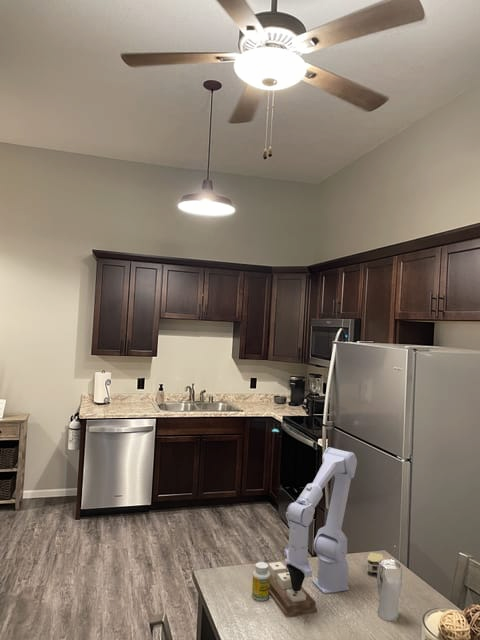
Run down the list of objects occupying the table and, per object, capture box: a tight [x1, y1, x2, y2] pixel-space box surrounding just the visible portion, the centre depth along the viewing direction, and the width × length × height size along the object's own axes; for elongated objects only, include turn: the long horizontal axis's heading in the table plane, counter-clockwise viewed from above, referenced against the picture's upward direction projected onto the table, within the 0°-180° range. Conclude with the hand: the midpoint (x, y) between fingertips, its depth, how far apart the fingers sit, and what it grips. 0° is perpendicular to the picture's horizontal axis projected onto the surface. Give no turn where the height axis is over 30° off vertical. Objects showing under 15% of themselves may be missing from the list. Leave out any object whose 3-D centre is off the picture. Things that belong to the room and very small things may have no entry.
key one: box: [267, 561, 287, 579], centre depth 153 cm, size 4×4×3 cm
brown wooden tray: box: [269, 568, 318, 618], centre depth 147 cm, size 10×22×3 cm, turn 20°
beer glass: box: [376, 558, 403, 622], centre depth 138 cm, size 7×7×15 cm
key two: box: [277, 572, 292, 590], centre depth 147 cm, size 4×4×3 cm
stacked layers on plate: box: [366, 552, 385, 576], centre depth 164 cm, size 10×9×6 cm
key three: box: [286, 589, 306, 602], centre depth 140 cm, size 4×4×3 cm
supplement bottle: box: [251, 561, 270, 601], centre depth 145 cm, size 5×5×10 cm
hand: (296, 590), depth 140 cm, fingers closed
